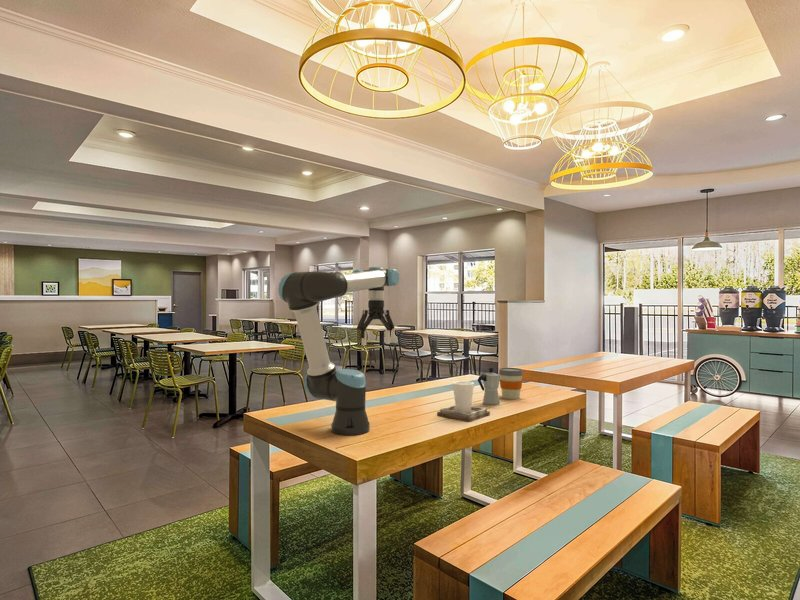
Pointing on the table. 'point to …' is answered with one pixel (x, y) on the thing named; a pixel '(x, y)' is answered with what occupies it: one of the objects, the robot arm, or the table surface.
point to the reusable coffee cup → (510, 382)
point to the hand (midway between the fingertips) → (375, 344)
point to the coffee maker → (490, 387)
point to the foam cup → (463, 395)
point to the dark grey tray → (473, 415)
